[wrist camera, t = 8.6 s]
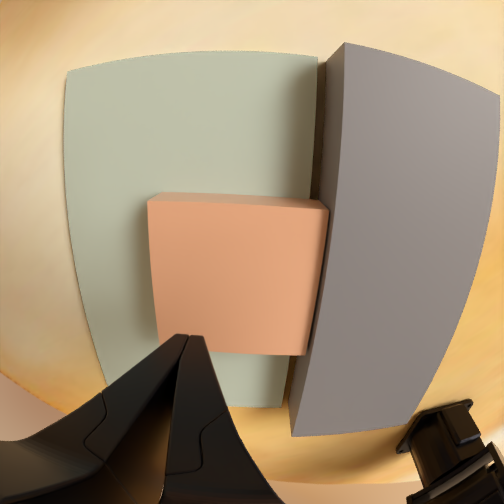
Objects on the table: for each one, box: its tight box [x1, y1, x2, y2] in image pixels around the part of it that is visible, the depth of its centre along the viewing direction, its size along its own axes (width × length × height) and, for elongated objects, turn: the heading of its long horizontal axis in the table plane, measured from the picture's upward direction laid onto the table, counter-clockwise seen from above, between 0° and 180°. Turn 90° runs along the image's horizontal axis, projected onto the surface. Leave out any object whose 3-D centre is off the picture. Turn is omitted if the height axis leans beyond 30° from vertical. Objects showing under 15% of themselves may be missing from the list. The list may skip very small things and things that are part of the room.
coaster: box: [147, 192, 329, 355], centre depth 13 cm, size 7×7×2 cm
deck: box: [288, 42, 500, 437], centre depth 13 cm, size 20×8×3 cm, turn 177°
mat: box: [64, 51, 318, 408], centre depth 14 cm, size 20×12×1 cm, turn 177°
